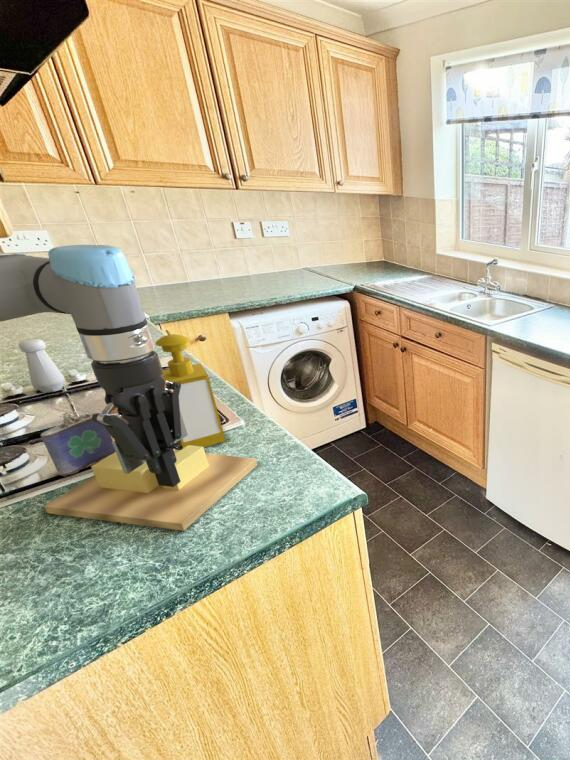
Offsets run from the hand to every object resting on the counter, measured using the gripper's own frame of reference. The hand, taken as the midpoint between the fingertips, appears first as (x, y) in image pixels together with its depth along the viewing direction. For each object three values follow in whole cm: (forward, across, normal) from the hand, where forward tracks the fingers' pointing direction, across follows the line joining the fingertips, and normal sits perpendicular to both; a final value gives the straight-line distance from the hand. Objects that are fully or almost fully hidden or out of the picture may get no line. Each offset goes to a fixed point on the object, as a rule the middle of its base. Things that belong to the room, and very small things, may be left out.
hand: (169, 483), depth 72 cm
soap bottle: (+4, +20, +12) cm, 23 cm away
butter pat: (+2, +4, +1) cm, 5 cm away
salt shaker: (+4, +31, +62) cm, 69 cm away
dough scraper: (-4, +3, +3) cm, 6 cm away
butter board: (+4, +3, +5) cm, 6 cm away
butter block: (+2, +2, +8) cm, 9 cm away
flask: (+4, +6, +24) cm, 25 cm away
